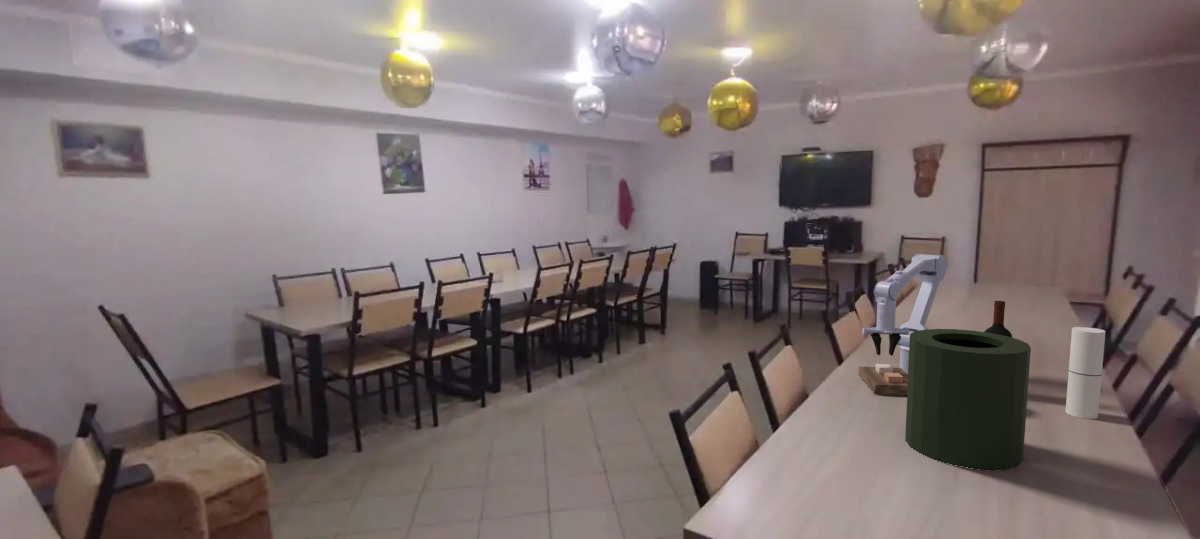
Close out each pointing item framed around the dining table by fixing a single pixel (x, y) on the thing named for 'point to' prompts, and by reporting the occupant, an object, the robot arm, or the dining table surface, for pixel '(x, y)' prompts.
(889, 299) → the robot arm
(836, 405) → the dining table surface
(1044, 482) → the dining table surface
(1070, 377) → the cylindrical container
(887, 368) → the off white key
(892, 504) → the dining table surface
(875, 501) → the dining table surface
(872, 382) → the key panel
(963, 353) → the flower pot
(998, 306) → the wine bottle
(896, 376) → the salmon orange square block
